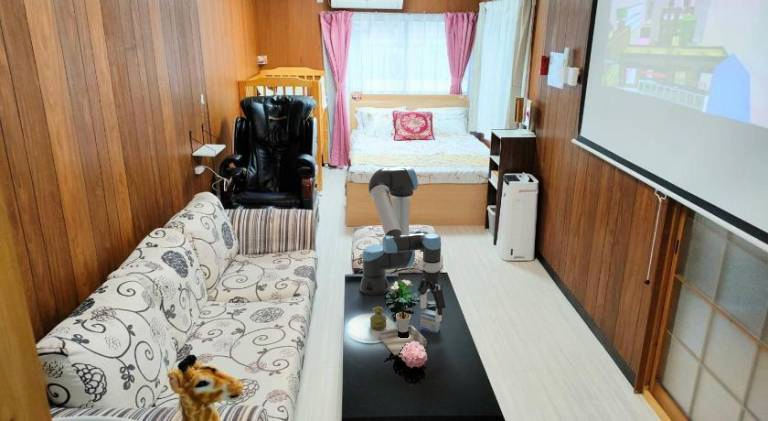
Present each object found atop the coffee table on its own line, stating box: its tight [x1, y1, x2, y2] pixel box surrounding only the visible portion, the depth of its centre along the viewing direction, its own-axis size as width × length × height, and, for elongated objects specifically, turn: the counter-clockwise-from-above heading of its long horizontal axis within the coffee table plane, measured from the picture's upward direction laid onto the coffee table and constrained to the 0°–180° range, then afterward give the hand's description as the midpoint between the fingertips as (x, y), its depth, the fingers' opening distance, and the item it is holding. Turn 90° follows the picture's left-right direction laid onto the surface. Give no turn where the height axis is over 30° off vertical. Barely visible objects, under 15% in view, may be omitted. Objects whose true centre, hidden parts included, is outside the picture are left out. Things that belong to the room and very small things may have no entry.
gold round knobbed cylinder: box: [369, 305, 387, 332], centre depth 235 cm, size 7×7×10 cm
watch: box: [425, 289, 437, 311], centre depth 251 cm, size 6×8×11 cm
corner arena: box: [379, 324, 428, 356], centre depth 223 cm, size 14×15×4 cm
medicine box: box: [419, 308, 441, 334], centre depth 233 cm, size 8×4×9 cm, turn 65°
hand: (430, 314), depth 232 cm, fingers open, 13 cm apart
